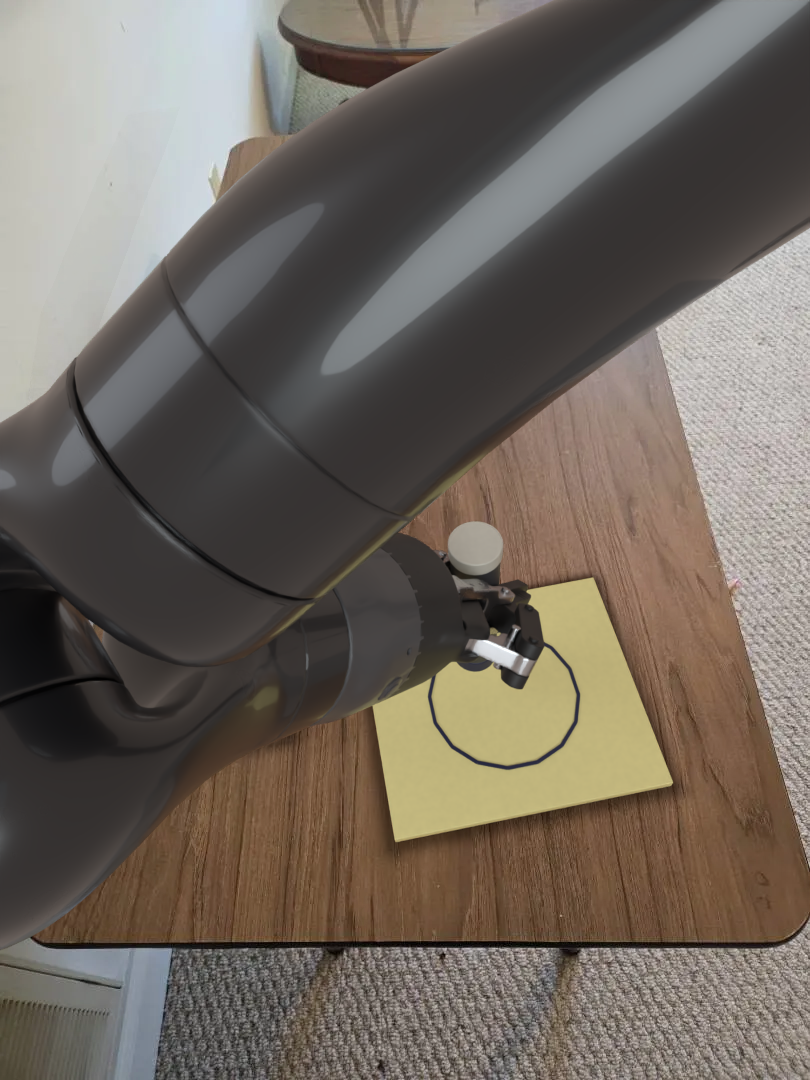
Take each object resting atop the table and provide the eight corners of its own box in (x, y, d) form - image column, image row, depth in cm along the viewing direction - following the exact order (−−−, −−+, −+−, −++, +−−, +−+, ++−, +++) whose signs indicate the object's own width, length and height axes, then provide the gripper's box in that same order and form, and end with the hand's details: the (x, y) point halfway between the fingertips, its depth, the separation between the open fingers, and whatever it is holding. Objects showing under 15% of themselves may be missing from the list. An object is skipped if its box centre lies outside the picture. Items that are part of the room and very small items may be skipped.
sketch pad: (592, 581, 60) (593, 576, 59) (671, 785, 50) (673, 782, 50) (359, 625, 59) (358, 621, 58) (395, 842, 49) (394, 839, 49)
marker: (491, 629, 53) (495, 516, 43) (502, 668, 52) (509, 559, 42) (448, 638, 53) (442, 526, 43) (457, 677, 52) (454, 570, 41)
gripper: (515, 631, 30) (623, 585, 45) (253, 473, 35) (428, 479, 51) (436, 790, 32) (566, 695, 47) (200, 616, 37) (384, 581, 53)
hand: (493, 583), depth 49 cm, fingers closed on marker, 3 cm apart
